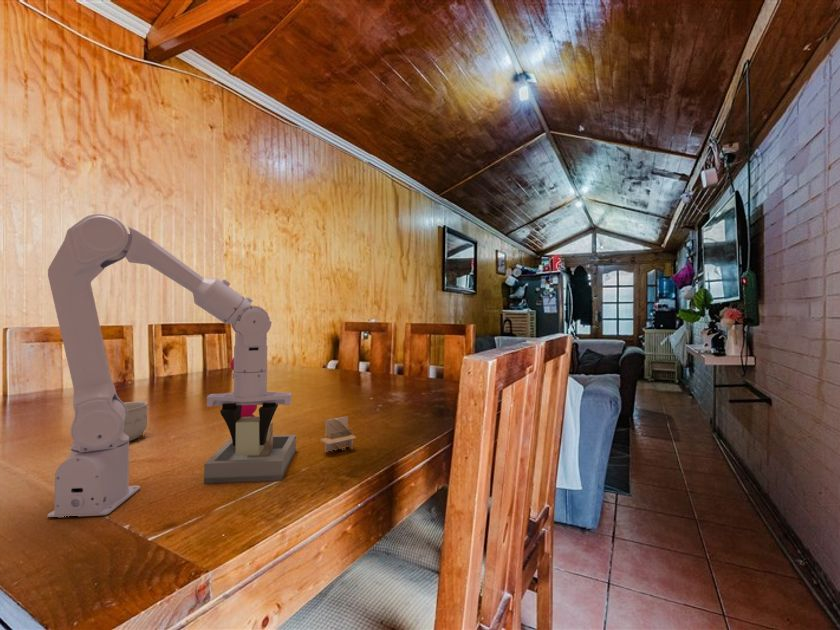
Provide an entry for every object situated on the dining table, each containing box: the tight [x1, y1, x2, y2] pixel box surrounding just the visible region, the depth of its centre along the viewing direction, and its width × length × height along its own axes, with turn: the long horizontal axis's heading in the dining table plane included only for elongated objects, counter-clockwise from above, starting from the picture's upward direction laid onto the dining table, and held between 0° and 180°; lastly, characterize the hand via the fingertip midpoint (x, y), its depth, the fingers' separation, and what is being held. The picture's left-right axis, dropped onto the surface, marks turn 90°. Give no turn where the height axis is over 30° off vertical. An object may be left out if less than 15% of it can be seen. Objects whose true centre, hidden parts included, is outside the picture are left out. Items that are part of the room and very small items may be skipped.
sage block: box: [235, 416, 264, 456], centre depth 77 cm, size 4×4×6 cm
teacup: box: [123, 400, 148, 442], centre depth 97 cm, size 14×11×8 cm
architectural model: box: [320, 415, 357, 453], centre depth 89 cm, size 3×7×7 cm, turn 132°
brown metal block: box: [247, 420, 274, 457], centre depth 85 cm, size 4×4×6 cm
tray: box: [203, 434, 297, 485], centre depth 81 cm, size 16×13×4 cm
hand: (249, 444), depth 77 cm, fingers closed on sage block, 4 cm apart
